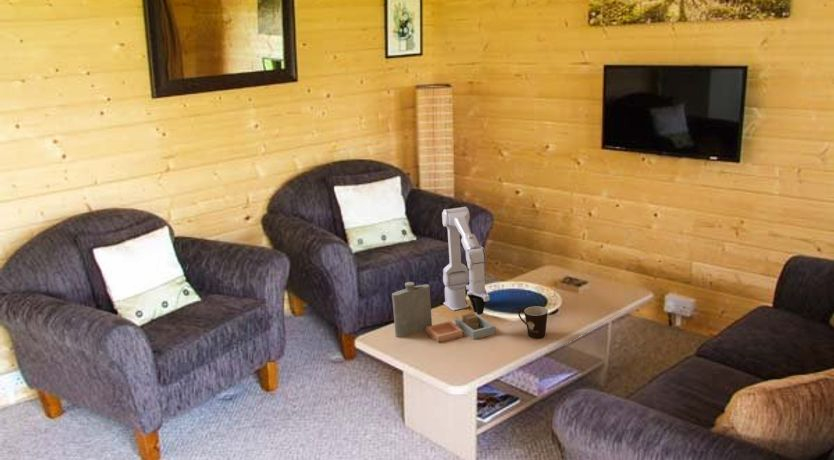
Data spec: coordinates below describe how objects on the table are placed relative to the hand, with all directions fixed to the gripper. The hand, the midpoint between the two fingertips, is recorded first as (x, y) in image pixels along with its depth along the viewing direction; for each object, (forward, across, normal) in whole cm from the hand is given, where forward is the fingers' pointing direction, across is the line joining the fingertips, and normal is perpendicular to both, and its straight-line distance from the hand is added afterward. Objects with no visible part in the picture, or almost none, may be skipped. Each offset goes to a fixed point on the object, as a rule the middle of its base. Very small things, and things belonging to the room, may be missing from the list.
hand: (478, 312), depth 291 cm
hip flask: (+9, -16, -21) cm, 27 cm away
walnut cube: (+8, -8, 0) cm, 11 cm away
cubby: (+8, -4, 0) cm, 9 cm away
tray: (+8, -6, -12) cm, 16 cm away
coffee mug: (+9, +12, +17) cm, 23 cm away
